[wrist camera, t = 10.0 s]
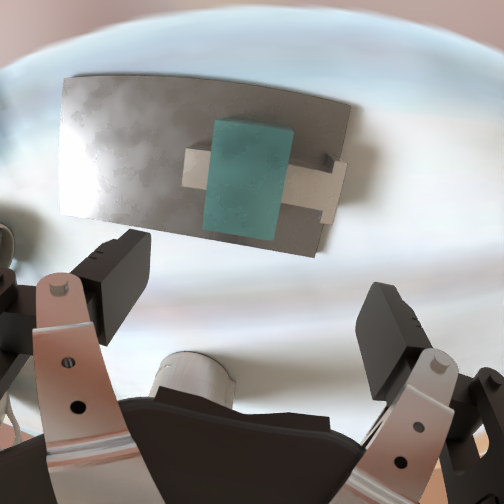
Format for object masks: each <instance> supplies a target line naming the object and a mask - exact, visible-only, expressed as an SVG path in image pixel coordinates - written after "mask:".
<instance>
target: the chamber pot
mask: <svg viewBox="0 0 504 504" xmlns="http://www.w3.org/2000/svg"><path fill="white" fill-rule="evenodd" d="M5 414H7V416H8V418H9V419H10V421H11V423H12V424H13V428H14V432H15V436H16V437H15V442H14V444H13V446H15V445H17V444H20V443H22V437H21V432H20V427H19V425H18V423H17V421H16V418H15V416H14V414H13V411H12V408H11V403H10V398H9V393H8V389H7V391H6V393H5V394H4V396H3V397H2V399H1V400H0V428H1V426H2V423H3V420H4V417H5ZM2 450H4V449H2V448H1V447H0V451H2Z"/></svg>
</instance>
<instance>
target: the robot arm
mask: <svg viewBox="0 0 504 504" xmlns="http://www.w3.org/2000/svg"><path fill="white" fill-rule="evenodd" d="M150 252H151V234H150V233H147V232H143V231H138V230H134V229H129V230H128V231H127V232H125V233H124V234H123V235H122V236H121V237H120V238H119V239H118V240H117V239H112V240H110V241H107V242H105V243H102V244H101V245H100V246H99V247H98V248H97V249H96V250H95V251H94V252H92V253H91V254H90V255H89V256H88V257H87V258H85V259H84V260H83V261H82V262H81V263H80V264H79V265H78V266H77V267H76V268H75V269H73V270H72V271H71V272H70V273H54V274H50V275H47V276H45V277H44V278H42V279H41V280H40V281H39V282H38V284H37V286H27V285H17V281H16V276H15V273H14V272H13V271H12V270H11V269H9V268H4V267H0V400H1V399H2V397H3V396H4V394H5V393H6V391H7V389H8V388H9V386H10V385H11V383H12V382H13V380H14V379H15V377H16V376H17V374H18V373H19V371H20V370H21V368H22V367H23V365H24V364H25V362H26V361H27V360H28V358H29V357H30V355H33V356H34V367H35V377H36V386H37V394H38V402H39V409H40V415H41V421H42V426H43V432H44V434H41V435H39V436H37V437H34V438H32V439H30V440H27V441H24V442H22V443H20V444H17V445H15V446H12V447H10V448H7V449H4V450H2V451H0V504H420V503H419V500H420V499H421V496H422V495H423V492H424V490H425V488H426V486H427V484H428V482H429V479H430V477H431V475H432V473H433V470H434V468H435V465H436V463H437V460H438V458H439V460H440V464H441V468H442V473H443V478H444V483H445V487H446V493H447V498H448V504H504V377H503V376H502V375H501V374H500V373H499V372H497V371H496V370H494V369H491V368H488V367H484V368H481V369H480V370H479V371H478V373H477V374H476V376H475V377H474V378H471V377H468V376H465V375H462V374H460V373H459V369H458V366H457V364H456V362H455V361H454V360H453V359H452V358H451V357H450V356H449V355H448V354H446V353H445V352H443V351H441V350H438V349H434V348H433V347H432V345H431V343H430V341H429V339H428V337H427V335H426V334H425V332H424V330H423V328H421V327H422V326H421V324H420V322H419V321H418V320H417V319H418V318H417V317H416V315H415V313H414V311H413V309H412V308H411V307H410V306H409V305H407V304H406V303H405V302H404V301H403V300H402V298H401V297H400V295H399V293H398V291H397V289H396V287H395V286H394V285H389V284H384V283H379V282H374V283H373V284H372V286H371V287H370V290H369V292H368V294H367V297H366V299H365V302H364V304H363V306H362V308H361V311H360V313H359V315H358V318H357V321H356V328H355V331H356V336H357V340H358V343H359V347H360V351H361V355H362V359H363V362H364V366H365V370H366V374H367V378H368V382H369V387H370V391H371V395H372V399H373V400H378V401H386V402H387V405H386V406H385V408H384V409H383V410H382V412H381V413H380V415H379V416H378V418H377V419H376V421H375V422H374V424H373V425H372V427H371V428H370V430H369V431H368V433H367V434H366V436H365V437H364V438H363V440H362V441H361V443H360V444H359V443H357V442H356V441H354V440H353V439H351V438H349V437H347V436H345V435H343V434H341V433H339V432H336V431H334V430H331V429H330V419H329V417H325V416H315V415H306V414H298V413H290V412H287V413H272V414H242V413H239V412H237V411H234V410H232V408H233V400H234V393H235V386H236V383H235V382H234V381H232V380H231V379H230V378H229V376H228V374H227V372H226V371H225V369H224V368H223V367H222V366H221V365H220V364H219V363H218V362H216V361H214V360H213V359H211V358H209V357H206V356H204V355H201V354H197V353H191V352H179V353H174V354H171V355H169V356H167V357H166V358H165V359H164V360H163V361H162V363H161V365H160V367H159V370H158V372H157V374H156V377H155V380H154V383H153V386H152V388H151V391H150V394H149V396H148V397H135V398H128V399H123V400H119V401H117V399H116V396H115V393H114V391H113V388H112V385H111V382H110V379H109V376H108V373H107V369H106V366H105V363H104V360H103V357H102V353H101V350H100V346H99V344H101V345H103V346H106V347H107V346H108V344H109V343H110V341H111V339H112V338H113V336H114V335H115V333H116V332H117V330H118V329H119V327H120V325H121V324H122V322H123V321H124V319H125V318H126V316H127V315H128V313H129V312H130V310H131V309H132V307H133V306H134V304H135V303H136V301H137V300H138V298H139V297H140V295H141V294H142V292H143V291H144V289H145V288H146V285H147V283H148V279H149V272H150ZM482 424H484V427H485V430H486V432H487V435H488V438H489V448H488V450H487V452H486V454H485V455H484V456H483V457H482V458H481V459H480V456H479V453H478V450H477V447H476V443H475V440H474V437H473V434H474V433H475V431H476V430H477V429H478V428H479V427H480V426H481V425H482Z"/></svg>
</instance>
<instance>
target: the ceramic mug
mask: <svg viewBox="0 0 504 504" xmlns="http://www.w3.org/2000/svg"><path fill="white" fill-rule="evenodd" d="M13 255H14V237H13V234H12V232H11V231H10V229H9V228H8V227H6V226H5V225H3V224H0V267H4V268H9V267H10V265H11V262H12V259H13Z"/></svg>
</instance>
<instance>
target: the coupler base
mask: <svg viewBox="0 0 504 504" xmlns="http://www.w3.org/2000/svg"><path fill="white" fill-rule="evenodd" d="M350 109H351V106H350V105H346V104H342V103H338V102H334V101H330V100H326V99H322V98H318V97H313V96H309V95H304V94H299V93H294V92H289V91H284V90H278V89H273V88H267V87H261V86H254V85H247V84H240V83H233V82H224V81H216V80H206V79H195V78H181V77H164V76H87V77H70V78H64V82H63V92H62V103H61V118H60V140H59V185H60V208H61V214H65V215H71V216H77V217H83V218H88V219H94V220H100V221H106V222H112V223H118V224H124V225H129V226H135V227H141V228H147V229H153V230H158V231H164V232H170V233H176V234H181V235H187V236H193V237H199V238H204V239H210V240H216V241H221V242H227V243H233V244H239V245H244V246H250V247H256V248H261V249H267V250H272V251H278V252H284V253H289V254H295V255H301V256H306V257H312V258H314V257H315V254H316V250H317V247H318V243H319V239H320V235H321V232H322V228H323V224H329V225H332V224H333V220H334V216H335V212H336V209H337V205H338V201H339V197H340V193H341V189H342V185H343V181H344V177H345V173H346V169H347V165H348V164H347V163H346V162H345V161H344V160H343V159H341V158H340V155H341V150H342V146H343V142H344V137H345V132H346V128H347V123H348V118H349V113H350ZM228 116H229V117H237V118H244V119H251V120H257V121H264V122H270V123H276V124H282V125H287V126H290V127H291V129H292V130H293V131H294V135H293V140H292V146H291V151H290V157H289V162H288V167H287V173H286V178H285V183H284V188H283V194H282V199H281V204H280V209H279V214H278V220H277V225H276V230H275V235H274V240H273V241H269V240H263V239H257V238H251V237H245V236H239V235H233V234H227V233H221V232H215V231H208V230H202V227H203V217H204V207H205V197H206V188H207V180H208V171H209V163H210V154H211V147H212V139H213V131H214V124H215V120H217V119H220V118H224V117H228Z"/></svg>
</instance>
